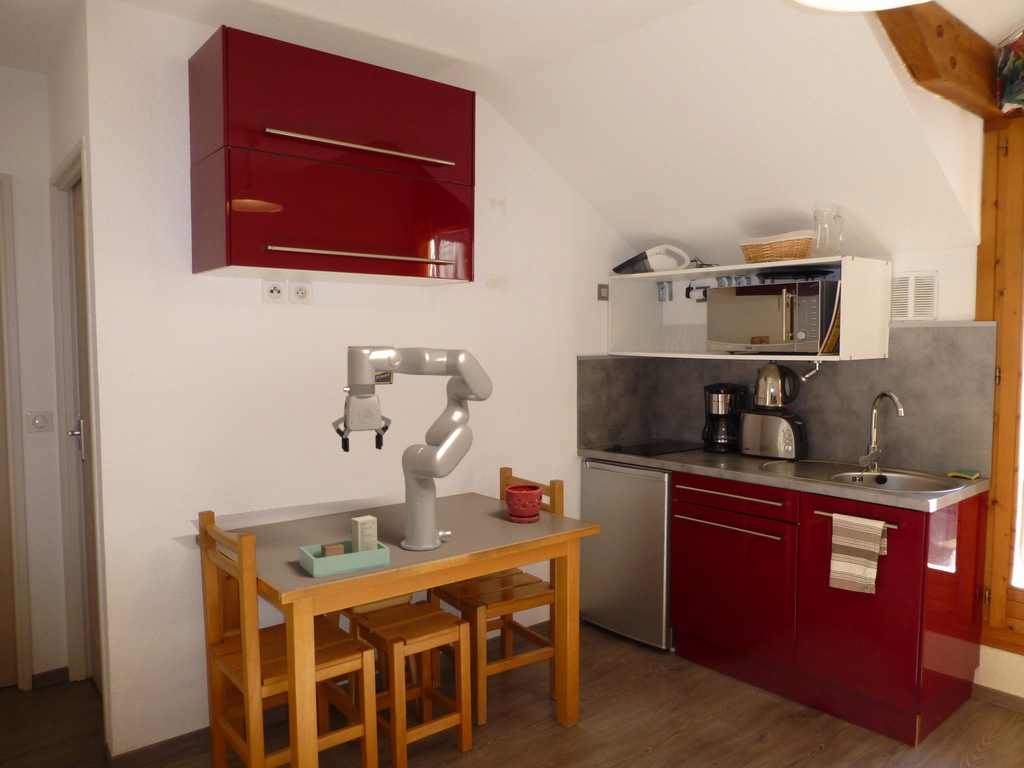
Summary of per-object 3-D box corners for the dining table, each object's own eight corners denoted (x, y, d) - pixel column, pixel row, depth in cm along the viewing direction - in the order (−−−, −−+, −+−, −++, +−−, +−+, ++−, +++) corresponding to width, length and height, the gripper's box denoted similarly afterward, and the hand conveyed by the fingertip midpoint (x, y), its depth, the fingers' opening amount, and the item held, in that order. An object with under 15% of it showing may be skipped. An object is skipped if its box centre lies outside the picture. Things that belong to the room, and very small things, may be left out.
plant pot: (505, 516, 271) (505, 483, 271) (541, 516, 271) (541, 483, 271) (505, 524, 258) (505, 490, 258) (543, 524, 258) (543, 490, 258)
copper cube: (343, 563, 210) (343, 545, 210) (326, 566, 208) (326, 548, 207) (338, 559, 214) (338, 541, 214) (321, 561, 212) (320, 544, 212)
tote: (371, 553, 223) (371, 536, 223) (389, 565, 210) (389, 548, 210) (299, 564, 212) (299, 547, 212) (313, 578, 199) (313, 559, 199)
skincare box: (370, 555, 217) (370, 514, 217) (378, 559, 214) (377, 517, 213) (351, 559, 214) (350, 518, 213) (358, 563, 210) (357, 520, 209)
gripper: (336, 392, 205) (337, 454, 205) (395, 390, 213) (395, 449, 214) (327, 391, 211) (328, 451, 212) (385, 389, 220) (386, 446, 221)
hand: (362, 450), depth 213 cm, fingers open, 9 cm apart
